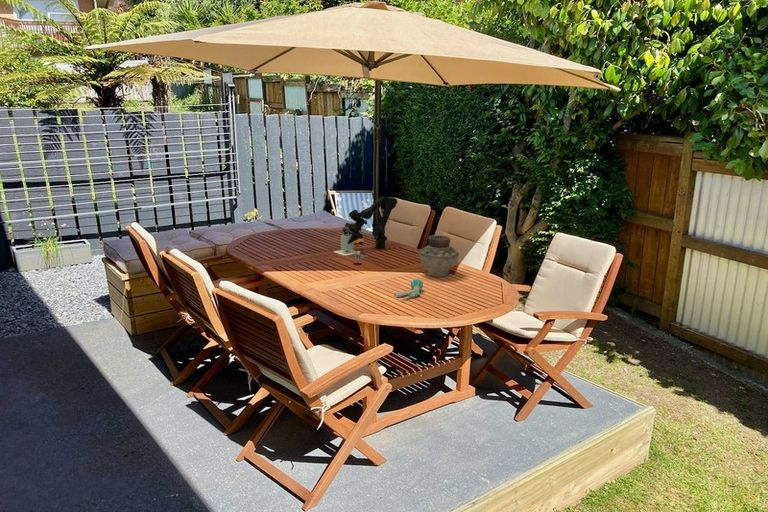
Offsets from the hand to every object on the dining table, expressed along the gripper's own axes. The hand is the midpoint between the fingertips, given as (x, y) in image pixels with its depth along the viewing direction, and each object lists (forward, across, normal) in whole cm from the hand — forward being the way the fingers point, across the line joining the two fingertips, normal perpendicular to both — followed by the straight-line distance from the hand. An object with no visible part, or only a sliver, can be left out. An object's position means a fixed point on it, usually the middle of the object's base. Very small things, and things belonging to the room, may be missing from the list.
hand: (345, 242), depth 415 cm
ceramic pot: (-7, +75, +20) cm, 78 cm away
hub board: (+5, 0, +7) cm, 9 cm away
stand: (+5, +14, +7) cm, 17 cm away
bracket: (-13, -25, +26) cm, 38 cm away
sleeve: (+3, 0, +4) cm, 5 cm away
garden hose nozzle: (+22, +95, -9) cm, 98 cm away
